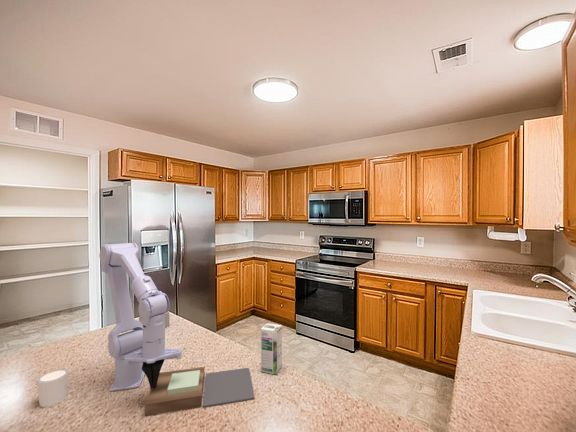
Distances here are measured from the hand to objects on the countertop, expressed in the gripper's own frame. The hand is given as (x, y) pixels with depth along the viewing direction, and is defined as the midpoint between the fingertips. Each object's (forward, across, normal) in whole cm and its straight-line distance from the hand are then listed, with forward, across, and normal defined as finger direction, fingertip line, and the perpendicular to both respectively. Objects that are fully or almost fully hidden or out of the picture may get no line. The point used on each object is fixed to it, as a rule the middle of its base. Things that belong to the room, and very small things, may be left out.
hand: (153, 386), depth 76 cm
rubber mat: (+4, +21, +1) cm, 21 cm away
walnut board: (+4, +6, +1) cm, 7 cm away
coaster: (+1, +8, 0) cm, 8 cm away
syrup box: (+4, +35, +7) cm, 36 cm away
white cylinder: (+4, -28, +7) cm, 29 cm away
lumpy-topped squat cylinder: (+4, -13, +56) cm, 58 cm away
